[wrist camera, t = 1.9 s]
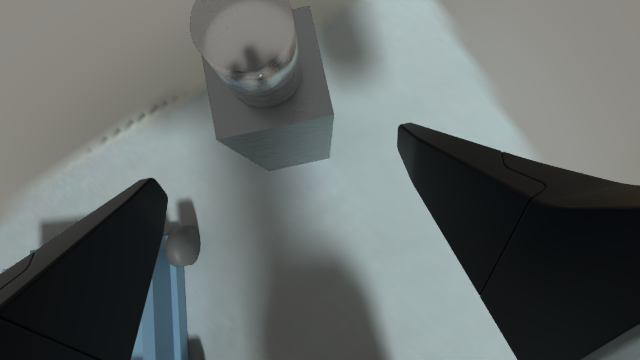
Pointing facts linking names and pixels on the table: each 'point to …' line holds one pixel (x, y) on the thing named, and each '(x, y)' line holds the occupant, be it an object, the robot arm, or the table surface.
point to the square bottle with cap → (264, 80)
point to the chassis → (167, 299)
